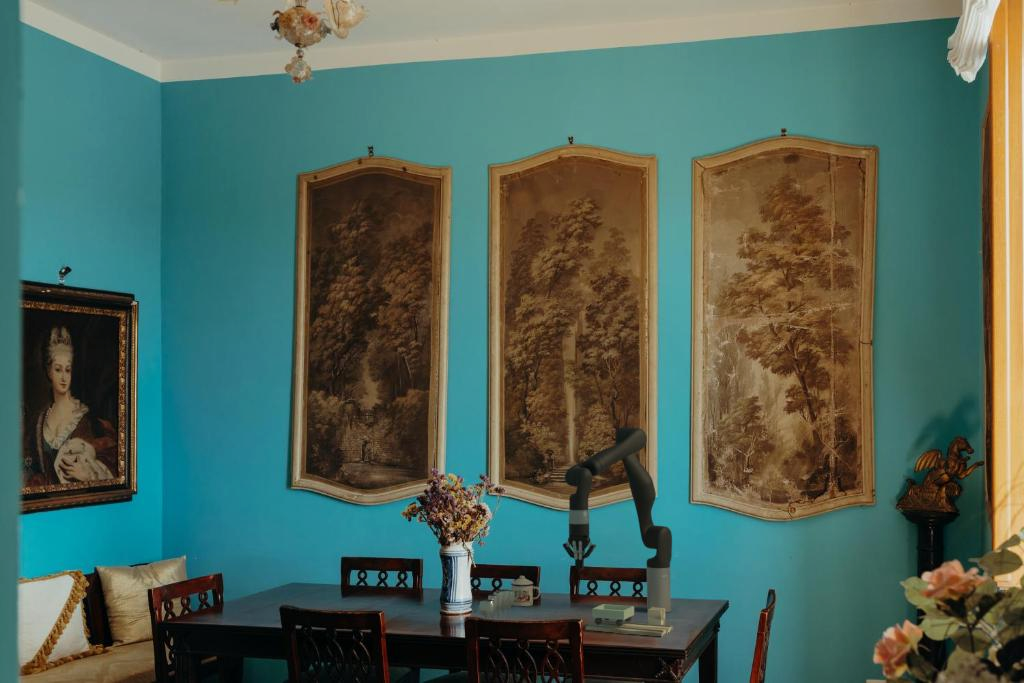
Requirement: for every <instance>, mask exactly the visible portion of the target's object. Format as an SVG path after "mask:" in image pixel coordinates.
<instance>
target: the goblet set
mask: <svg viewBox="0 0 1024 683" xmlns="http://www.w3.org/2000/svg"><path fill="white" fill-rule="evenodd" d="M514 599H515V594H514V591H513V590H512V589H511V590H510V589H505V588H504V589H497V590H496V591H494V592H493V594H489V595H488V597H487V599H482V600H480V602H479V605H478V606H479V607H478V609H479V612H480V614H481V615H482V616H483V617H484V619H485V618H488V619H489V620H490V618H491V619H494V617H495V613H496V614H497V620H498V619H500V612H501V611H502V620H503V619H504V620H505V611H507V620H508V619H509V620H510V610H511V607H512V606H513V605H512V604H513V602H514Z"/></svg>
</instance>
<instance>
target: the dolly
mask: <svg viewBox="0 0 1024 683" xmlns="http://www.w3.org/2000/svg"><path fill="white" fill-rule="evenodd" d="M591 612H592V613H591V614H592V616H591V618H594V619H595V620H594V622H595V623H596V624H601V623H602V620H607V621H610V620H611V619H612V620H615V621H616V624H617V626H622V625H623V622H631V621H632V619H633V618H632V617H633V616H635V606H633V605H621V604H620V605H619V604H607V603H602V604H600V605H597V606H595V607H593V608H592V609H591Z"/></svg>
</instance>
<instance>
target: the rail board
mask: <svg viewBox="0 0 1024 683" xmlns="http://www.w3.org/2000/svg"><path fill="white" fill-rule="evenodd" d="M616 621H617V620H615V621H614V620H605V619H602V623H601V624H596V623H595V621H594V622H591V623H588V624H587V625H586V626H585V631H586V630H595V631H604V632H603V633H605V632H617V633H628V634H640V635H650V636H649V637H651V636H662V637H664V636H665V635H664V634H666V633H667V634H669V633H671V632H672V631H674V625H668V624H667V625H666V624H665V625H657V624H648V623H642V622H631V621H629V622H626V621H623V625H622V626H617V624H616ZM671 630H672V631H671ZM670 631H671V632H670ZM668 632H669V633H668ZM628 634H627V635H628ZM667 634H666V635H667ZM640 635H639V636H640ZM663 635H664V636H663Z"/></svg>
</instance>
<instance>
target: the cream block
mask: <svg viewBox="0 0 1024 683" xmlns="http://www.w3.org/2000/svg"><path fill="white" fill-rule="evenodd" d="M647 624H657V625H666V613H665V608H653V607H652V608H650V609H648V611H647Z"/></svg>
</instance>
